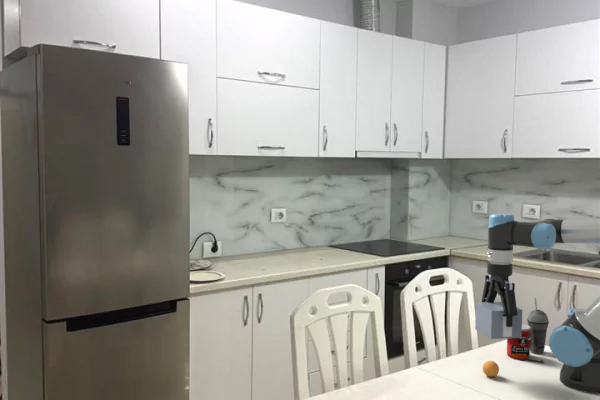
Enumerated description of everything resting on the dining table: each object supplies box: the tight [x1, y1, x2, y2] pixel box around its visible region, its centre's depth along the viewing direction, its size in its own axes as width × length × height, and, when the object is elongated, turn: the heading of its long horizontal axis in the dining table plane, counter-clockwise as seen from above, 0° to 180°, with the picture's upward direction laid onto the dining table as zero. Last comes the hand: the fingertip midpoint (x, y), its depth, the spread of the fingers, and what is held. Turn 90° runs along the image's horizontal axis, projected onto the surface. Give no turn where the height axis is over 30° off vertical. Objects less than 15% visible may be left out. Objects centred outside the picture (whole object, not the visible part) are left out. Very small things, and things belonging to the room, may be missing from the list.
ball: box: [482, 360, 500, 378], centre depth 175 cm, size 5×5×5 cm
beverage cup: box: [526, 297, 550, 355], centre depth 197 cm, size 7×7×20 cm
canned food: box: [506, 323, 531, 361], centre depth 193 cm, size 8×8×11 cm
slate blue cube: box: [474, 301, 523, 340], centre depth 174 cm, size 10×10×9 cm
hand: (497, 331), depth 174 cm, fingers closed on slate blue cube, 10 cm apart
